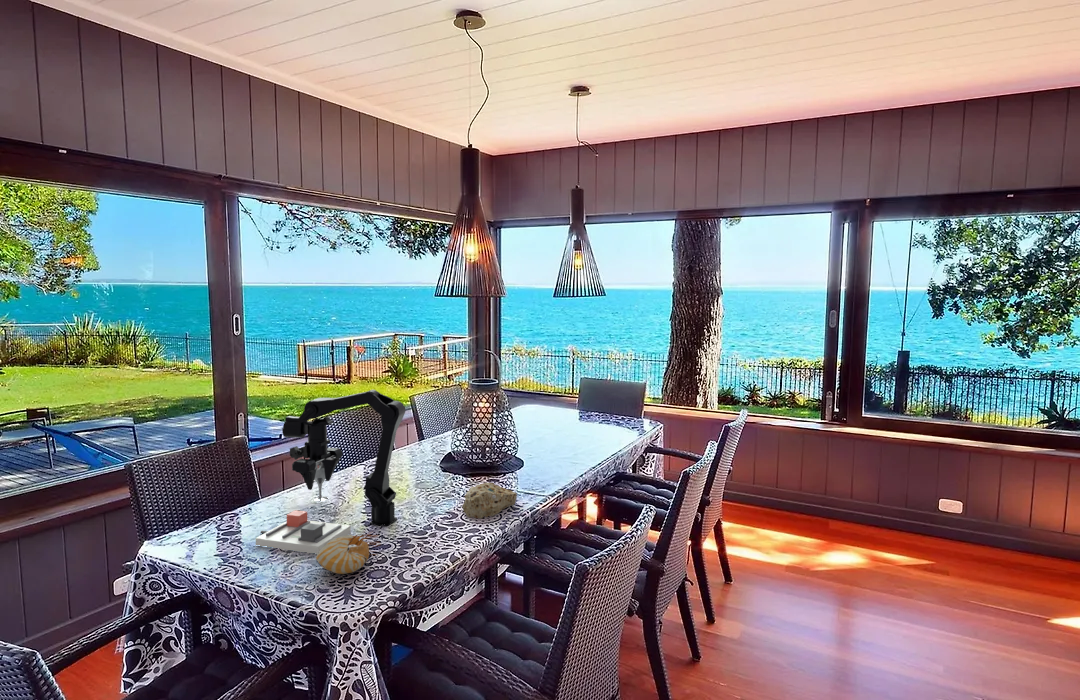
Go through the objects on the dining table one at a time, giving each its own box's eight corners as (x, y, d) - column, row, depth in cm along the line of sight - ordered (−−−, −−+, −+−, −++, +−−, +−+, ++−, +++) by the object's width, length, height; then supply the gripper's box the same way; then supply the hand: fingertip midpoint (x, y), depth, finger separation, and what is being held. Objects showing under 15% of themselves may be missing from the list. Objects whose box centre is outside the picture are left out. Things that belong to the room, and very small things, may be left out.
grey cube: (322, 536, 173) (322, 524, 173) (314, 542, 170) (313, 530, 169) (309, 534, 174) (309, 523, 174) (300, 540, 171) (300, 528, 170)
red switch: (307, 522, 184) (307, 511, 184) (299, 527, 180) (298, 516, 180) (295, 521, 185) (295, 510, 185) (286, 525, 181) (286, 514, 181)
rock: (483, 499, 216) (491, 474, 215) (517, 515, 210) (524, 489, 209) (451, 511, 198) (459, 483, 197) (486, 529, 192) (494, 500, 191)
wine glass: (307, 504, 207) (306, 462, 205) (309, 497, 214) (308, 456, 213) (331, 502, 209) (330, 461, 207) (333, 495, 216) (332, 455, 215)
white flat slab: (350, 533, 182) (350, 523, 182) (318, 554, 167) (318, 543, 167) (278, 524, 189) (278, 514, 189) (241, 544, 174) (241, 533, 174)
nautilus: (366, 546, 174) (402, 562, 166) (301, 570, 156) (338, 588, 148) (368, 520, 174) (404, 534, 165) (303, 540, 156) (340, 558, 147)
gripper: (313, 430, 202) (315, 474, 203) (276, 443, 184) (278, 492, 185) (342, 432, 199) (344, 477, 201) (307, 445, 181) (308, 495, 183)
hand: (319, 485), depth 192 cm, fingers open, 9 cm apart
